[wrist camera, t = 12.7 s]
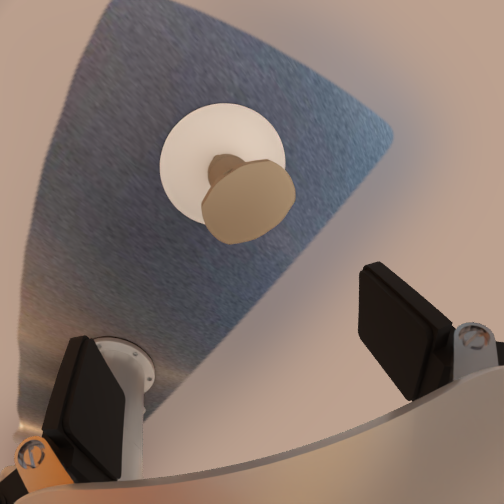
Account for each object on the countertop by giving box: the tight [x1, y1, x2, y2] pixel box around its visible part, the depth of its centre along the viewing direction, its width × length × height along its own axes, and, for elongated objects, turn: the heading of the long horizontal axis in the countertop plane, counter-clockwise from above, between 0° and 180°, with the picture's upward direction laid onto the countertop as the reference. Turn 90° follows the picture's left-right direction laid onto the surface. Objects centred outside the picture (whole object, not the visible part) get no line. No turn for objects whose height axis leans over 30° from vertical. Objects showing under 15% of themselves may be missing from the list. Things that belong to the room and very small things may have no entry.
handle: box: [201, 154, 295, 245], centre depth 28 cm, size 5×6×15 cm
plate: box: [160, 103, 285, 224], centre depth 35 cm, size 14×14×2 cm
